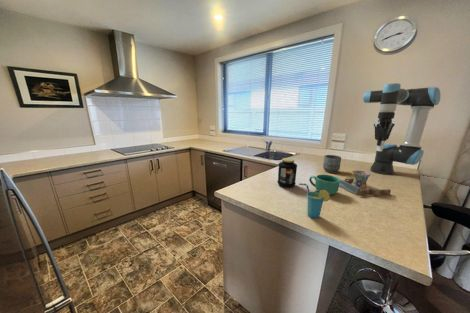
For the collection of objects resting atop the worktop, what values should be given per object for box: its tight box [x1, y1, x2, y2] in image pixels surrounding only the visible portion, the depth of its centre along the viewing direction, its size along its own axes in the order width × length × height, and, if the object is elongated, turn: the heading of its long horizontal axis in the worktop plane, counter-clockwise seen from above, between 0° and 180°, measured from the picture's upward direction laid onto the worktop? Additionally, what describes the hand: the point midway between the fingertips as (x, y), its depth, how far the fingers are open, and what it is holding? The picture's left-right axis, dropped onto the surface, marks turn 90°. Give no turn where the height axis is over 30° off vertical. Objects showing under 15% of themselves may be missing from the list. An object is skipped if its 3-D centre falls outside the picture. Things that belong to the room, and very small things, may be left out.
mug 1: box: [309, 174, 340, 196], centre depth 111 cm, size 17×13×10 cm
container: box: [277, 157, 298, 188], centre depth 120 cm, size 12×12×18 cm
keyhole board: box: [338, 177, 392, 199], centre depth 116 cm, size 21×21×4 cm
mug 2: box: [352, 169, 372, 190], centre depth 115 cm, size 12×9×11 cm
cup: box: [298, 183, 331, 220], centre depth 84 cm, size 14×8×15 cm, turn 54°
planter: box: [322, 154, 342, 174], centre depth 149 cm, size 12×12×13 cm
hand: (379, 150), depth 113 cm, fingers closed
